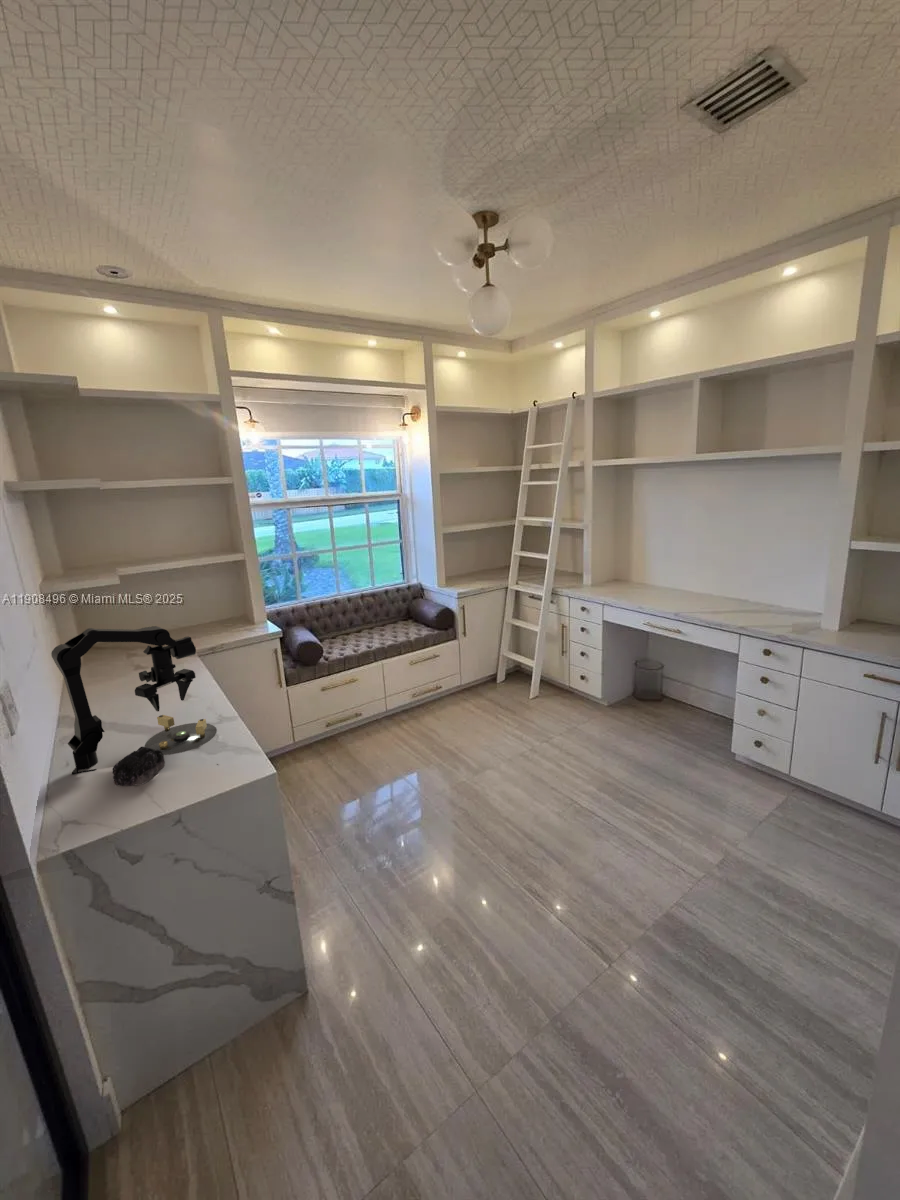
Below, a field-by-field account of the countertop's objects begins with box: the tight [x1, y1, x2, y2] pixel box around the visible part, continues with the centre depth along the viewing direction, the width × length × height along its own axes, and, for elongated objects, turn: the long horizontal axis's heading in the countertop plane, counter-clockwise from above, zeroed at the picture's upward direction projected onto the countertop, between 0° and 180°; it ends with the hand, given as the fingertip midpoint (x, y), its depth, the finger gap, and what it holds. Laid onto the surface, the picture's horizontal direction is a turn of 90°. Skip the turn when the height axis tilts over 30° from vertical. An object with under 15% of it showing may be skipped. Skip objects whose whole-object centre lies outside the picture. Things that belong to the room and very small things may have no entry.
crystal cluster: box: [111, 746, 166, 787], centre depth 151 cm, size 13×14×10 cm
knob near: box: [195, 718, 207, 738], centre depth 171 cm, size 6×2×5 cm, turn 16°
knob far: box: [156, 714, 176, 732], centre depth 176 cm, size 6×2×5 cm, turn 64°
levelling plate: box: [144, 722, 218, 756], centre depth 171 cm, size 22×22×3 cm
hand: (170, 705), depth 173 cm, fingers open, 9 cm apart
